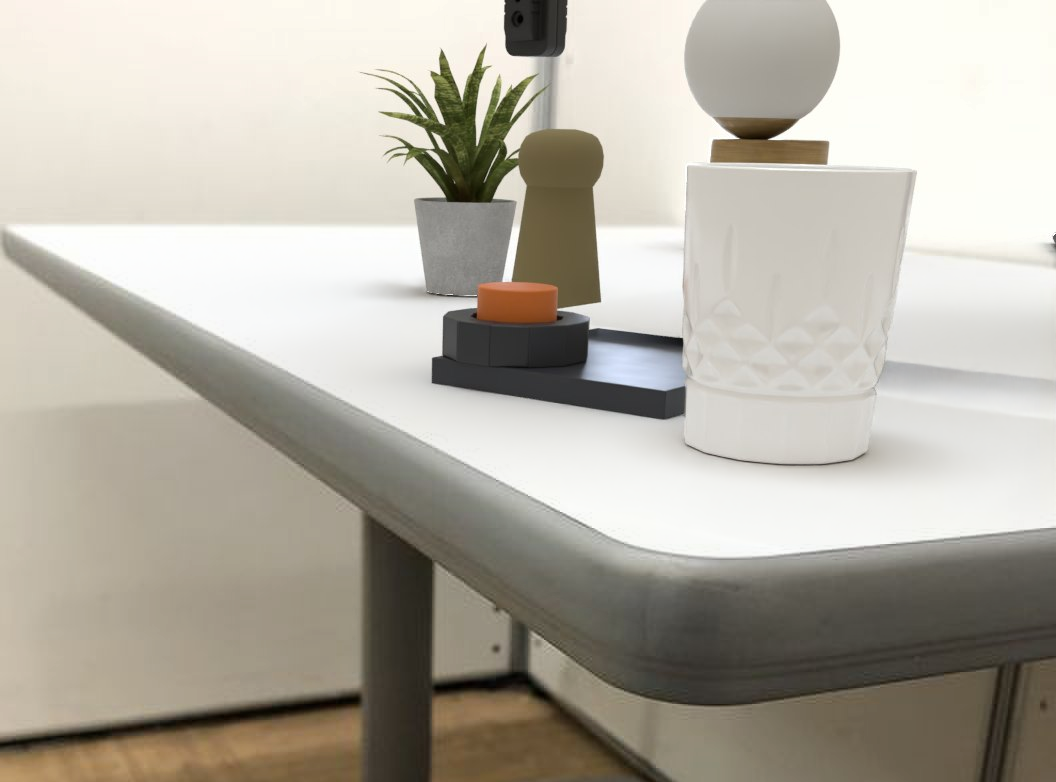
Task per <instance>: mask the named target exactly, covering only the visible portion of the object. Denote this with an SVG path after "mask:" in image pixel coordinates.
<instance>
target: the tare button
mask: <svg viewBox="0 0 1056 782" xmlns="http://www.w3.org/2000/svg"><path fill="white" fill-rule="evenodd" d="M476 297H477V298H476V300H477V301H476V308H477V319H481V320H490V321H498V322H517V323H532V322H552V321H557V310H558V309H557V301H558V288H557V287H556V286H553V285H548V284H540V283H528V282H511V281H502V282H492V283H484V284H480V285H478V296H476Z"/></svg>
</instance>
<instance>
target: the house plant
mask: <svg viewBox="0 0 1056 782" xmlns="http://www.w3.org/2000/svg"><path fill="white" fill-rule="evenodd" d="M487 46H488V42H486V43H485V45H484V46H483V48H482V49H481V51H480V52H479V54H478V56H477V59H476V62H475V65H474V67H473V70H472V72H471V73H469V74H468V76H467V78H466V81H465V82H466V83H465V85H464V90H463V94H462V97H461V94H460V91H459V87H458V85H457V83H456V81H455V78H454V75H453V73H452V70H451V67H450V64H449V61H448V59H447V56H446V53H445V52H444V51H443V49H442V48H441V47H439V49H440V51H439V57H438V63H439V64H438V65H439V73H438V72H435V71H433V70H430V69H429V70H428V71H429V72H430V77H431V79H432V81H433V83H434V95H433V98H434V100H435V102H436V105H437V107H438V109H439V112H440V113H441V114H440V115H441V117H442V120H443V123H441V122H440V120H439V118H438V116H437V114H436V113H435V110H434V108H433V107H432V105H431V104H430V102H429V100H428V99H427V97H426V96H425V95H424V93H423V91H422V90H421V89H420V87H419V86H417V84H415V83H414V81H412V80H411V79H409V78H408V77H406V76H405V75H403V74H401V73H398V72H396V71H393V70H389V69H381V68H380V69H379V68H374V70H376V71H381V72H387V73H391V74H395V75H398V76H400V77H402V78H403V79H405V80H407V81H408V82H409V83H410V84H411V85H412V86H413V87H414V90H415V91H416V92H415V91H414V90H413V91H412V90H409V89H408V88H407V87H405V85H403V84H400V83H398V82H396V81H395V80H393V79H390V78H387V77H385V76H381V75H379V74H378V75H377V74H374V73H367V72H362V71H359V73H360V74H364V75H368V76H372V77H376V78H379V79H381V80H384V81H387V82H388V83H390V84H392V85H393V86H394V87H396V88H398V90H400V91H401V92H400V91H398V90H396V89H394V88H393V89H392V88H388V87H375V89H378V90H382V91H383V90H384V91H388V92H391V93H393V94H394V95H396V96H398V98H400V99H401V100H402V102H404V103H405V104H406V105H407V106H408V107H409V109H410V110H411V111H412V112H413V113H414V114H411V113H404V112H398V111H397V112H393V111H379V113H380V114H382V115H385V116H387V117H389V118H394V119H399V120H403V121H406V122H409V123H412V124H414V125H416V126H418V127H420V128H422V129H424V131H425V132H426V134H427V136H428V138H429V139H430V142H431V145H432V146H433V148H424V147H417V146H414V145H412V144H411V143H410V142H408V141H407V140H405V139H403V138H401V137H398V136H396V135H391V134H385V135H383V138H384V137H385V138H391V139H395V140H397V141H399V142H401V144H403V145H402V146H397V147H393V148H391V149H389V150H387V151H385V153H384V154H383V155H382V157H384V156H387V154H389V153H391V152H393V151H396V150H397V151H398V150H401V149H407V150H408V152H407V153H404V152H397V153H394V154H393V155H391V156H390V158H388V161H387V162H386V164H388V163H389V162H390V161H391V160H392V159H394V158H396V157H402V156H405V159H404V163H403V166H405V164H406V163H407V162H408V161H409V160H410V159H412V158H414V159H415V160H416V161H417V162H418V163H419V164H420V165H421V166H422V167H423V169H424V170H425V171H426V172H427V173H428V175H429V176H430V177H431V178H432V180H434V182H435V183H436V185H437V186H438V187H439V188H440V190H441V191H442V193H443V195H444V197H443V196H442V197H437V196H436V197H418V198H414V199H413V204H414V208H415V209H414V211H415V218H416V224H417V231H418V240H419V245H420V246H419V247H420V254H421V262H422V267H423V274H424V275H423V276H424V282H425V290H426V292H427V291H429V292H432V293H439V294H453V295H478V285H480V284H484V283H492V282H503V280H504V274H505V268H506V263H507V258H508V252H509V247H510V241H511V236H512V232H513V225H514V220H515V214H516V210H517V204H518V202H517V200H513V199H503V198H495V197H494V196H495V195H496V192H497V190H498V188H499V186H500V185H501V183H502V181H503V180H504V178H505V177H506V176H507V175H508V174H509V173H510V172H511V171H513V170H514V169H515V168H517V167H519V166H518V157H513V156H514V155H516V154H519V150H520V147H519V148H518V149H516V150H514V151H512V152H511V153H510V154H509V155H508V147H507V144H506V142H505V139H506V137H507V136H508V133H509V132H510V131H511V129H512V127H513V126H514V124H516V123H517V121H518V120H519V118H521V116H522V115H523V114H524V113H525V112H526V110H527V109H528V108H529V107H530V106H531V105H532V103H533V102H534V100H535V99H536V98H537V97H538V96H539V95H541V94H542V93H544V91H545V90H546V89H547V88H548V87H549V86H550V85H551V83H549V84H547V85H546V86H545V87H543V88H542V89H540V90H538V91H537V92H536V93H535V94H534V95H532V97H531V98H529V100H528V101H527V102H526V103H525V104H524V105H523V106H522V107H521V108H520V109H519V110H518V111H517V112H516V113H515V114H514V112H515V109H516V107H517V105H518V103H519V101H520V99H521V98H522V96H523V94H524V92H525V91H526V89H527V88H528V86H529V85H530V83H531V82H532V81H533V80H534V79H535V78H536V77H537V76H538V75H539V73H540V72H538V73H535V74H533V75H531V76H527V77H525V78H524V79H523V80H521V81H520V82H519V83H518V84H517V85H516V86H514V87H513V85H512V84H510V86H509V88H507V91H506V93H505V96H503V98H502V99H501V101H500V98H501V92H502V77H501V73H498V76H497V78H496V81H495V85H494V86H493V89H492V91H491V96H490V99H489V100H490V101H489V104H488V107H487V110H486V113H485V117H484V120H483V123H482V127H481V131H480V135H479V139H478V142H477V124H476V123H477V122H476V118H477V106H478V97H479V91H480V85H481V83H482V80H483V78H484V75H485V73H486V71H487V70H488V69H489V68H491V67H493V66H494V65H487V66H483V63H484V59H485V53H486V50H487ZM355 72H358V71H355ZM402 92H403V93H404V94H403V93H402ZM406 95H407V96H408V97H407V96H406ZM419 97H420V99H419ZM412 101H413V102H412ZM499 101H500V102H499ZM414 103H415V104H414ZM417 106H418V107H417ZM419 109H420V110H421V111H422V113H423V114H424V115H425V116H426V117H424V116H423V114H422V113H421V111H420V110H419ZM513 114H514V116H513ZM434 134H435V135H436V136H439V137H440V139H441V142H442V143H443V145H444V147H445V149H446V150H445V149H443V148H440V146H439V143H438V141H437V140H436V138H435V136H434ZM378 136H380V137H382V135H378ZM429 151H431V152H433V153H434V154H436V156H438V158H439V160H440V162H441V164H442V165H441V164H440V163H439V162H438V160H436V159H435V158H433V156H432V155H431V154H430V153H429ZM507 155H508V156H507ZM382 157H381V158H382Z"/></svg>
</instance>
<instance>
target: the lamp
mask: <svg viewBox="0 0 1056 782" xmlns="http://www.w3.org/2000/svg"><path fill="white" fill-rule="evenodd" d="M683 52H684V53H683V64H684V66H683V67H684V72H685V78H686V81H687V85H688V87H689V90H690V92H691V94H692V96H693V99H694V101H696V103H697V105H698V106H699V108H701V110H702V111H703V112H704V113H705V114H707V115H708V116H709V117H711V120H712V121H713V123H715V124H716V125H717V126H718V127H719V128H720V129H721V130H723V132H725V133H727V134H728V135H730V136H731V137H711V138H710V139H709V147H708V148H709V150H708V162H707V163H778V164H815V165H828V161H829V153H830V152H829V151H830V141H829V140H821V139H820V140H819V139H787V138H786V139H784V138H776V137H778V136H780V135H782V134H783V133H785V132H786V131H788V130H790V129H792V127H794V126H795V125H796V124H798V122H799V121H800V120H801V119H803V118H805V117H806V116H808V115H809V114H810V113H812V112H813V111H814V110H815V108H817V106H819V104H820V103H821V102H822V101H823V99H824V98H825V96H826V95H827V93H828V92H829V90H830V88H831V86H832V84H833V82H834V79H835V76H836V74H837V70H838V67H839V62H840V56H841V37H840V31H839V25H838V21H837V19H836V16H835V14H834V12H833V10H832V8H831V6H830V4H829V3H828V1H827V0H704V2H703V3H702V5H700V7H699V8H698V10H697V12H696V13H695V15H694V17H693V19H692V21H691V24H690V26H689V29H688V31H687V35H686V39H685V45H684V51H683Z"/></svg>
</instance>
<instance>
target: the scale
mask: <svg viewBox="0 0 1056 782" xmlns="http://www.w3.org/2000/svg"><path fill="white" fill-rule="evenodd" d="M590 322H591V318H590V316H588V315H585V314H581V313H578V312H573V311H567V310H566V311H564V310H559V309H557V321H552V322H532V323H517V322H498V321H490V320H481V319H477V307H469V308H462V309H456V310H455V309H454V310H449V311H447V312H446V313H444V315H443V316H442V347H441V348H442V350H441V355H438V356H432V357H431V384H434V385H439V386H448V387H453V388H459V389H465V390H471V391H472V390H473V391H477V392H483V393H484V392H485V393H490V394H497V395H503V396H509V397H510V396H511V397H516V398H522V397H523V399H528V398H529V399H530V400H535V401H542V402H548V403H555V404H559V405H560V404H562V405H567V406H572V407H573V406H574V407H579V408H586V409H591V410H598V411H605V412H612V413H618V414H624V415H631V416H637V417H642V418H650V419H656V420H661V421H666V420H669V419H672V418H675V417H678V416H684V403H685V378H686V377H687V375H686V373H685V372H684V370H683V368H682V354H683V337H677V336H676V337H675V336H668V335H660V334H651V333H644V332H637V331H635V332H634V331H626V330H618V329H610V328H602V327H601V328H600V327H596V328H595V327H594V328H590Z"/></svg>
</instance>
